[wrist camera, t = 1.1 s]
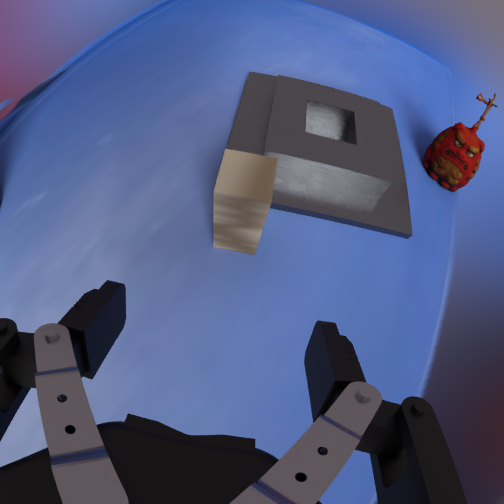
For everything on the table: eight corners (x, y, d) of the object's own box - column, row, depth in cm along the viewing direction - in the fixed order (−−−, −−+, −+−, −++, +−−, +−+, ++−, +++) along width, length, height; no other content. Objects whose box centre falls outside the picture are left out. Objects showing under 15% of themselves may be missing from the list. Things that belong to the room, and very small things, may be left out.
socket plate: (214, 197, 32) (215, 174, 28) (249, 76, 41) (252, 55, 37) (407, 238, 33) (426, 222, 29) (389, 112, 42) (399, 95, 38)
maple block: (213, 247, 30) (213, 191, 21) (221, 211, 31) (225, 148, 23) (254, 254, 30) (271, 202, 21) (260, 218, 32) (277, 158, 23)
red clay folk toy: (415, 170, 37) (474, 94, 24) (424, 144, 40) (474, 74, 26) (456, 202, 36) (523, 138, 23) (462, 173, 39) (518, 112, 25)
